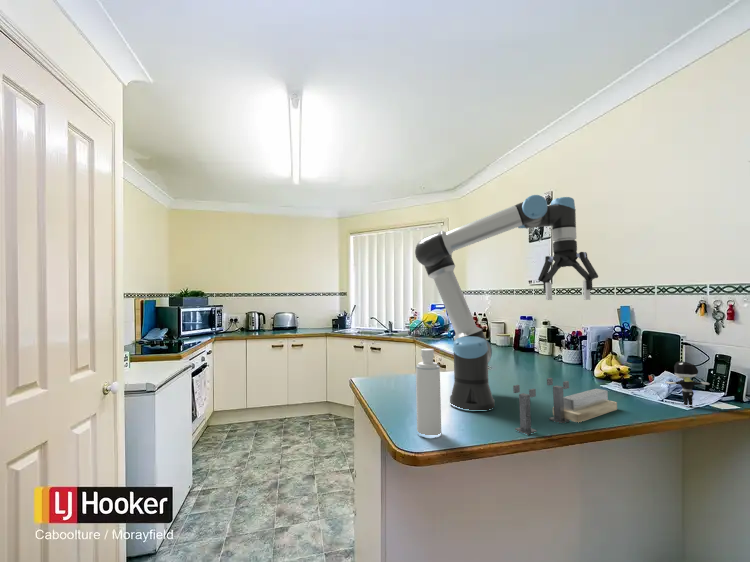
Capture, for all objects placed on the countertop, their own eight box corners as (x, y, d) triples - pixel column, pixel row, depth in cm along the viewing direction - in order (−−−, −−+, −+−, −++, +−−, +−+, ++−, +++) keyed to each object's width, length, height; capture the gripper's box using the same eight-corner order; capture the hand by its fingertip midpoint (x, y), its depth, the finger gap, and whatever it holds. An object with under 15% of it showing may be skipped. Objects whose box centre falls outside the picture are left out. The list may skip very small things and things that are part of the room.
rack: (512, 429, 96) (510, 386, 97) (554, 416, 106) (552, 377, 107) (530, 436, 91) (528, 390, 92) (572, 422, 101) (570, 380, 102)
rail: (562, 408, 106) (562, 397, 107) (596, 398, 116) (596, 388, 117) (573, 411, 103) (573, 400, 104) (608, 401, 113) (607, 390, 114)
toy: (701, 404, 117) (698, 360, 117) (717, 409, 111) (714, 363, 111) (659, 403, 118) (657, 360, 119) (673, 409, 112) (670, 363, 113)
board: (552, 415, 108) (552, 407, 108) (591, 403, 119) (591, 396, 119) (578, 422, 101) (578, 414, 101) (617, 409, 112) (616, 402, 112)
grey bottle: (423, 427, 98) (421, 341, 100) (445, 432, 95) (443, 343, 96) (412, 435, 93) (411, 344, 94) (435, 441, 89) (433, 345, 91)
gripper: (607, 236, 113) (611, 299, 112) (539, 246, 134) (541, 300, 133) (595, 234, 109) (599, 299, 108) (527, 245, 130) (529, 300, 129)
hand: (567, 300), depth 120 cm, fingers open, 13 cm apart
